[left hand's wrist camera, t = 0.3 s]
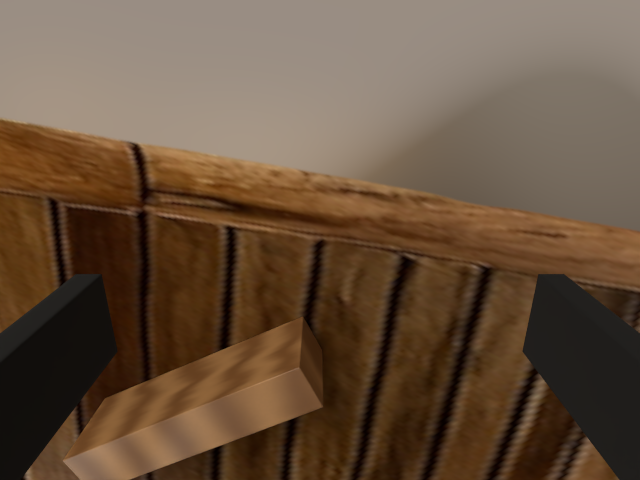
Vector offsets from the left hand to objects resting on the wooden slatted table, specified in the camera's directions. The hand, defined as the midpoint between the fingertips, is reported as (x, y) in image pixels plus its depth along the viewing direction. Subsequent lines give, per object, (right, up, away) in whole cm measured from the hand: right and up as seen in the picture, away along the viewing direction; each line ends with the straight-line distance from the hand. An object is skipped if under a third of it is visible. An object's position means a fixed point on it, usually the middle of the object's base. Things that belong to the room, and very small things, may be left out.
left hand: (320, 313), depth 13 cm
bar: (-12, -13, +34) cm, 38 cm away
